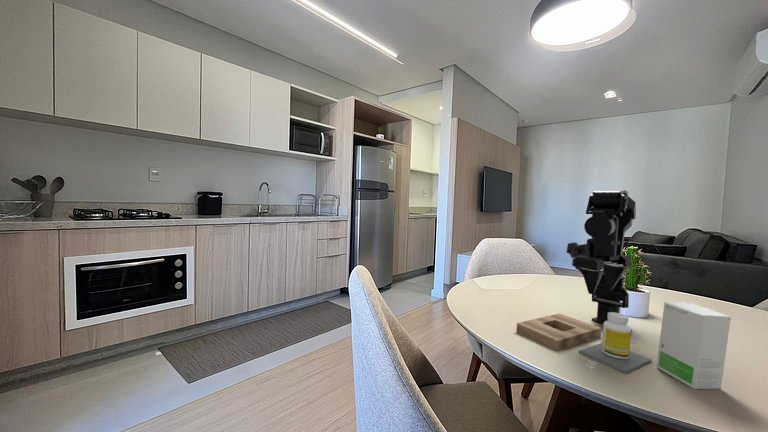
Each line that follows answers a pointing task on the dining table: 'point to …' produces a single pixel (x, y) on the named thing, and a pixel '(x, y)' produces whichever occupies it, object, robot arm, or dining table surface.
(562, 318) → the wooden block with hole
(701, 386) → the skincare box
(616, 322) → the supplement bottle
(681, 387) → the dining table surface
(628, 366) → the rubber mat
